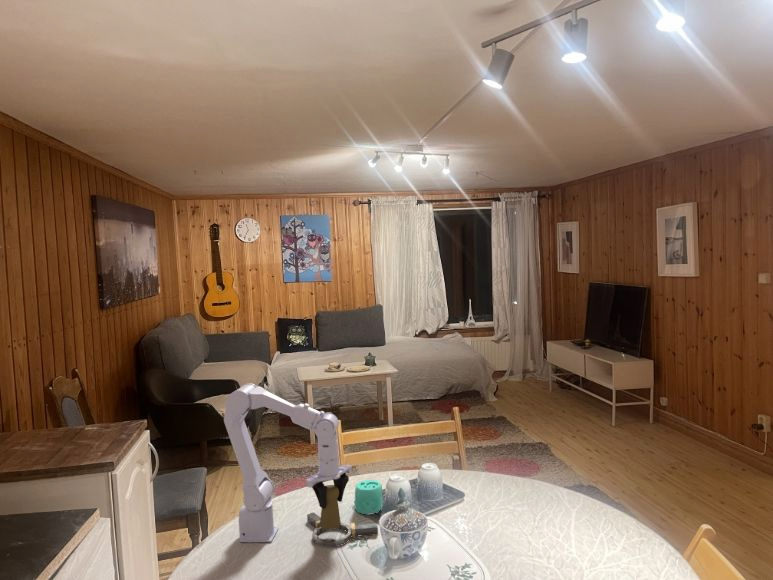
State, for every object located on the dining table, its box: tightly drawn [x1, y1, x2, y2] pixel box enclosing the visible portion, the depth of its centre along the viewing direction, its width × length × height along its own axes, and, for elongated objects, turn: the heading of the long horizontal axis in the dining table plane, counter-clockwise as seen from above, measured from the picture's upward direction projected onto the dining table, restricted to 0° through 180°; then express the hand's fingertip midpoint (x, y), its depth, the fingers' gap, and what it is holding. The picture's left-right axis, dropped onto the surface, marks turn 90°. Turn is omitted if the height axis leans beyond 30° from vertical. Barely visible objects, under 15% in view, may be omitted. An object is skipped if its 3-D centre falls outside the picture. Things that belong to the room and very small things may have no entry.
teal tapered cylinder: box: [354, 479, 383, 515], centre depth 177 cm, size 8×8×8 cm
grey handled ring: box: [306, 512, 379, 548], centre depth 163 cm, size 22×16×3 cm
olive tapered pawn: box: [320, 484, 342, 530], centre depth 161 cm, size 6×6×11 cm
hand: (330, 503), depth 160 cm, fingers closed on olive tapered pawn, 5 cm apart
